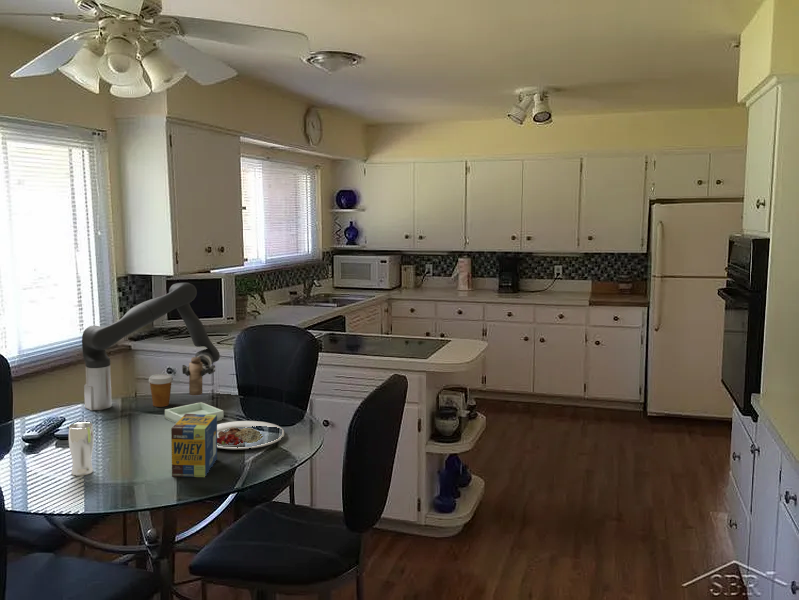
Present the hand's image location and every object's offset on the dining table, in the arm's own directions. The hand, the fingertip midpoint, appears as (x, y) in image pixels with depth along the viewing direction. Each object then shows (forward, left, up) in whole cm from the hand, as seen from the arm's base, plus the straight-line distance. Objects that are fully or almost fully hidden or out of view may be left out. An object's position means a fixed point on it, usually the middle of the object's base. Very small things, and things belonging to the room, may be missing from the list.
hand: (194, 373), depth 278 cm
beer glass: (-61, -38, -15) cm, 73 cm away
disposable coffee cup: (-8, +13, -15) cm, 21 cm away
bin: (-8, -13, -14) cm, 21 cm away
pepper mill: (+2, +2, -9) cm, 9 cm away
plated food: (-7, -44, -15) cm, 47 cm away
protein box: (-34, -58, -15) cm, 69 cm away
